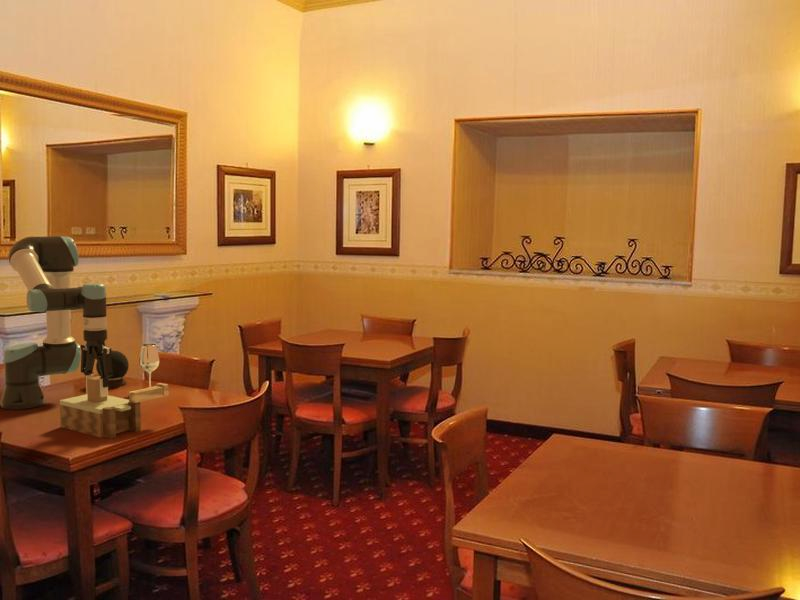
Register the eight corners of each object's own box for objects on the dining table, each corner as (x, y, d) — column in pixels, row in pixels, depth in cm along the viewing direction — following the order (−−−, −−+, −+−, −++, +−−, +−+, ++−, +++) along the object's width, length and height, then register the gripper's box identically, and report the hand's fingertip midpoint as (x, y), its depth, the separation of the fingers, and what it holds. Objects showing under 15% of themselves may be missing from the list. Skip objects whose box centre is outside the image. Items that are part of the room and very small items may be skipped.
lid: (59, 405, 260) (58, 377, 259) (95, 397, 272) (94, 370, 271) (107, 417, 247) (107, 387, 246) (143, 408, 258) (142, 379, 257)
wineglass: (163, 392, 314) (162, 344, 312) (146, 395, 309) (145, 347, 306) (153, 389, 320) (152, 342, 317) (136, 392, 314) (135, 344, 312)
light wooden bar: (128, 401, 258) (128, 390, 257) (160, 393, 270) (160, 382, 269) (136, 403, 256) (135, 391, 255) (168, 395, 267) (168, 384, 267)
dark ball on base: (132, 381, 334) (132, 348, 332) (124, 388, 321) (123, 353, 319) (102, 381, 333) (101, 348, 331) (92, 388, 320) (91, 353, 318)
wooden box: (60, 427, 261) (59, 399, 260) (96, 418, 273) (95, 391, 272) (108, 439, 248) (107, 410, 247) (143, 429, 259) (142, 401, 258)
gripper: (67, 327, 260) (69, 393, 262) (104, 333, 249) (106, 401, 252) (86, 325, 266) (89, 389, 268) (123, 330, 255) (125, 396, 258)
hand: (97, 394), depth 260 cm, fingers open, 7 cm apart
